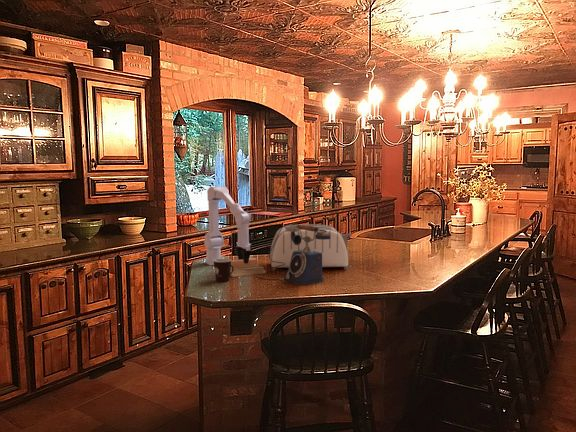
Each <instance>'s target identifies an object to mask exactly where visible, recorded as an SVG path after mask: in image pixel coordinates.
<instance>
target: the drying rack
mask: <svg viewBox="0 0 576 432" xmlns="http://www.w3.org/2000/svg"><path fill="white" fill-rule="evenodd" d="M233 269H234V270H233V272H232V268H231V270H230V273H231V272H232V274H230V277H232V278H235V277H242V276H243V277H244V276H252V275H257V274H258V275H261V274H267V272H266V271H267V270H265V268H264V266H260V264H257V265H252V266H242V267H233Z"/></svg>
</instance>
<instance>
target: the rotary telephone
mask: <svg viewBox="0 0 576 432" xmlns="http://www.w3.org/2000/svg"><path fill="white" fill-rule="evenodd" d="M288 225H290V226H288ZM296 225H297V226H296ZM285 226H288V227H287V228H286V231H288V232H291V240H292V241H293V242H294V244H295V245H299V244H300V243H301V240H302V239H303V240H304V241H305V242H306V247H305V248H304V249H303V250H296V251H293V253H292V257H291V260H290V264H289V267H288V268H287V272H286V270H285V269H282V271H283V272H279V273H278V272H277V273H276V275H281V274H284V273H286V275H285V276H284V277H283V280H282V279H279V278H264V280H267V281H270V280H271V281H274V280H275V281H276V280H277V281H278V280H279V281H281V283H282V284H288V283H289V284H290V283H291V284H293V285H296V286H308V285H313V284H318V283H323V282H324V278H323V267H322V253H320V252H316V251H312V249H311V248H310V247H309V242H311V241H313V240H314V238H316V239H322V240H324V239H331V235H330V233H329V232H328V231H327V230H321V229H318V228H317V227H313V226H307V225H302V224H286V225H284V226H282V227H280V228H281V229H282V228H283V227H285ZM300 229H302V230H308V231H315V233H316V232H317V234H316V235H315V233H314V237H313V239H311V237H309V236H305V237H302V234H301V230H300ZM280 231H281V230H280ZM280 231H279V233H280ZM297 231H300V235H301V236H300V235H295V232H297ZM279 233H278V235H279ZM278 235H277V237H278ZM301 238H302V239H301ZM276 240H277V238H276ZM276 240H275V242H276ZM274 244H275V243H274ZM273 247H274V245H273ZM273 247H272V249H273ZM272 249H271V248H270V250H271V251H272ZM270 250H269V254H268V255H269V256H268V258H269V260H270V262H271V261H272V260H271V259H270V253H271V251H270ZM272 262H275V261H272ZM277 263H283V262H277ZM283 264H284V265H285V263H283ZM280 266H282V265H280ZM276 267H279V266H276ZM273 268H275V267H273ZM273 268H272V267H271V268H269V269H268V270H265V271H266V273H267V272H268V273H269V274H271V275H274V273H272V272H271V271H274V270H272V269H273ZM277 271H281V268H277ZM258 275H259V274H256V277H257V279H260V280H263V277H262V278H261V277H259V276H258ZM284 281H285V282H284Z"/></svg>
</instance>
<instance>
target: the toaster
mask: <svg viewBox="0 0 576 432" xmlns="http://www.w3.org/2000/svg"><path fill="white" fill-rule="evenodd" d="M287 225H288V226H290V225H291V224H287ZM295 225H296V226H297V225H298V224H295ZM301 225H307V226H313V227H317V228H318V229H321V230H327V231H328V232H329V233H330V235H331V239H324V240H322V239H316V238H314V240H313V241H311V242H309V247H310V248H311V249H312V251H316V252H320V253H322V268H343V270H348V266H349V264H350V262H349V250H348V238H351V237H352V233H350V232H349V233H347V234H346V233H340V232H339V231H337V229H336V228H335V227H332V225H331V226H330V225H326V224H309V223H307V224H305V223H303V224H301ZM284 226H285V225H284ZM288 226H285V227H283V226H282V227H283V228H282V227H280V228H278V230H277V231H276V232H275V234H274V237H273V239H272V243H271V245H270V249H269V254H270V258H269V260H270V259H271V260H272V261H275V262H272V261H271V260H270V266H271V268H272V269H271V270H274V271H277V269H284V268H285V269H288V267H289V264H290V260H291V257H292V253H293V251H296V250H303V249H304V248H305V247H306V242H305V241H304V240H303V239H302V238H301V239H302V240H301V243H300V244H299V245H295V244H294V242H293V241H292V240H291V232H288V231H286V228H287V227H288ZM281 228H282V229H281ZM280 230H281V231H280ZM300 230H301V234H302V237H305V236H309V237H311V239H313V237H314V233H315V231H308V230H302V229H300ZM279 231H280V233H279ZM278 233H279V235H278ZM316 234H317V232H316V233H315V235H316ZM277 235H278V237H277ZM295 235H300V231H297V232H295ZM300 236H301V235H300ZM276 238H277V240H276ZM275 240H276V242H275ZM274 243H275V244H274ZM273 245H274V247H273ZM272 247H273V249H272ZM271 249H272V251H271ZM270 251H271V253H270ZM277 262H283V263H285V265H284V264H283V263H277ZM280 265H282V266H280ZM276 266H279V267H276ZM273 267H275V268H273Z"/></svg>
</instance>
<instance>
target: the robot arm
mask: <svg viewBox="0 0 576 432" xmlns="http://www.w3.org/2000/svg"><path fill="white" fill-rule="evenodd" d="M206 190H207V194H206V195H207V204H208V230H209V231H208V232H207V233H205V235H204V242H203V244H204V246H205V248H206V261H205V260H204V262H205V264H207V265H208V266H214V261H213V260H215V259H222V255H221V254H222V253H221V250H222V249H221V248H222V247H223V245H224V243H225V240H224V237H223V233H222V232H221V231H220V228H219V227H220V226H219V225H220V223H219V221H220V220H219V203H220V202H221V201H222V200H223V202H224V203H225V205H227V206H228V207H229V209H228V210H229V212H230V213H231V214H232V215H233V216H234V221H235V223H236V228H237V242H236V247H234V250H235V251H236V254H237V258H238V259H237V260H242V259H243V261H244V264H246V263H248V262H249V259H250V257H251V254H252V253H253V250H252V249H251V245H252V244H251V243H250V234H249V232H250V231H249V230H250V229H249V227H250V223H251V222H252V217H251V214H250V213H249V212H246V211H244V209H243V208H242V206H241V205H240V204H239V203H238V202H236V203H235V201H234V199H233V198H232V196H231V195H230V192H229V189H228V187H227V186H226V185H223V186H209V187H208V189H206Z"/></svg>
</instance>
